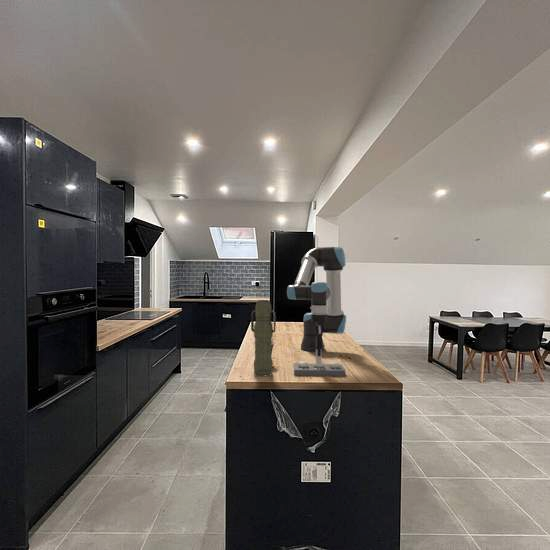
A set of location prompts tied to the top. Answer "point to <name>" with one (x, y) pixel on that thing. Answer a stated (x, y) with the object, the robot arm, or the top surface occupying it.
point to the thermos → (263, 337)
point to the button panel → (319, 370)
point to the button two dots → (303, 364)
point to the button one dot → (334, 364)
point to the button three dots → (318, 365)
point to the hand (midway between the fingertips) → (318, 362)
